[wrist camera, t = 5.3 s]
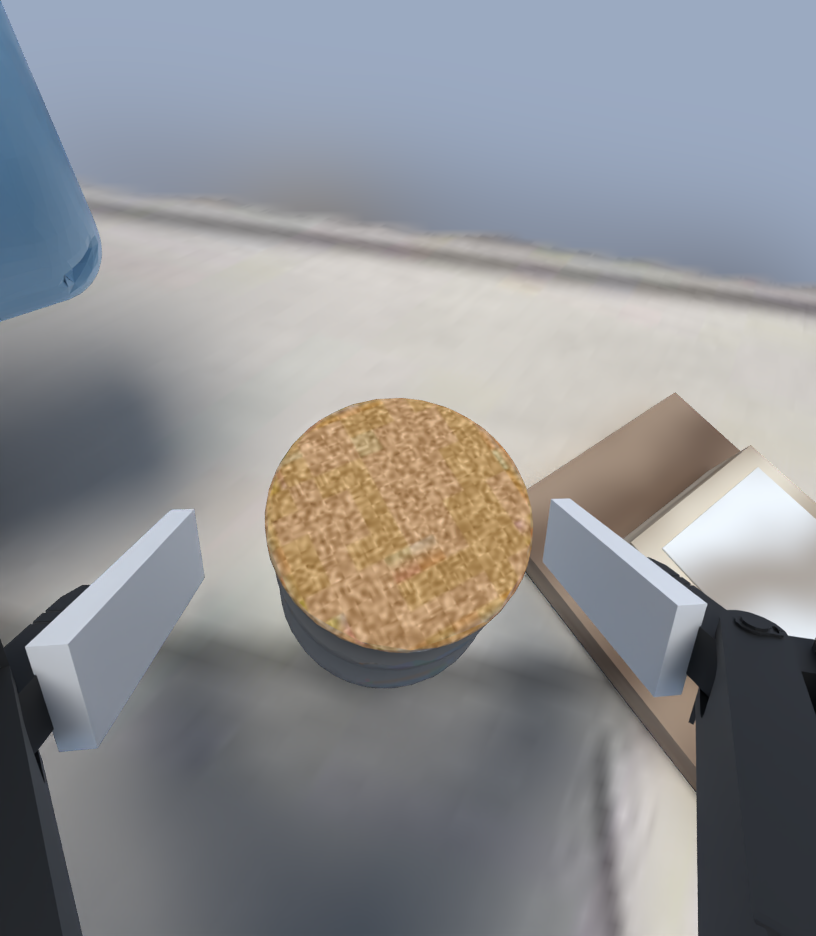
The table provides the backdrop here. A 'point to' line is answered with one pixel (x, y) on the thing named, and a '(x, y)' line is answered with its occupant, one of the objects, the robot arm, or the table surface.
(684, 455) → the plinth
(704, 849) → the robot arm
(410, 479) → the bottle
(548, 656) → the table surface
